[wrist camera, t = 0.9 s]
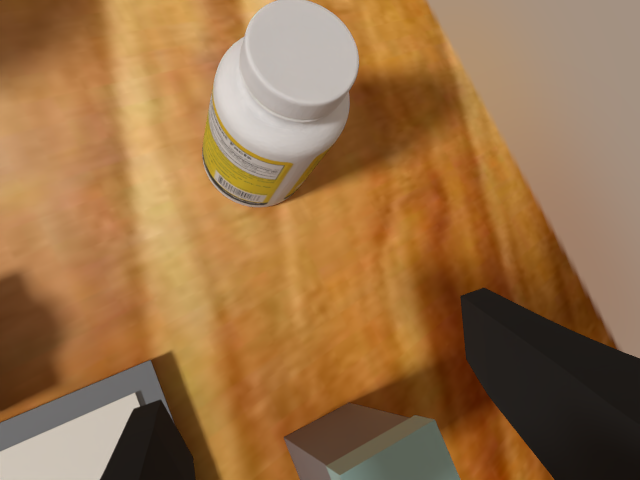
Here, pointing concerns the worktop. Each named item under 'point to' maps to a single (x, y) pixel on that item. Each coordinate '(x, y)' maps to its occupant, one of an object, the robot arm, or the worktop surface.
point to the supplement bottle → (278, 102)
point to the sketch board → (76, 429)
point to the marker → (370, 447)
